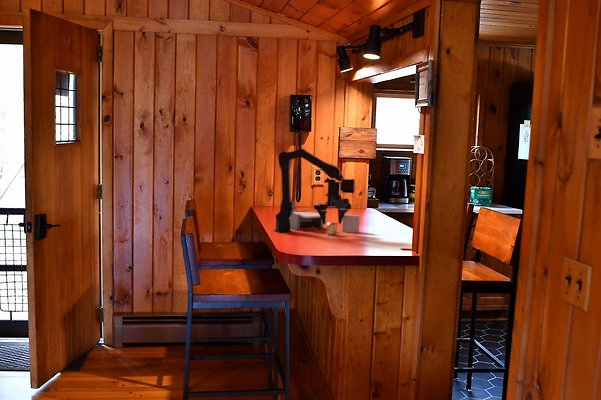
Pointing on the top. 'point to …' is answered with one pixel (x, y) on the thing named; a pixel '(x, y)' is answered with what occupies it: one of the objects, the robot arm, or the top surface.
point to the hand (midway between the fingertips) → (332, 224)
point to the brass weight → (332, 228)
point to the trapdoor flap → (307, 216)
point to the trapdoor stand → (296, 222)
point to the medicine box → (351, 223)
